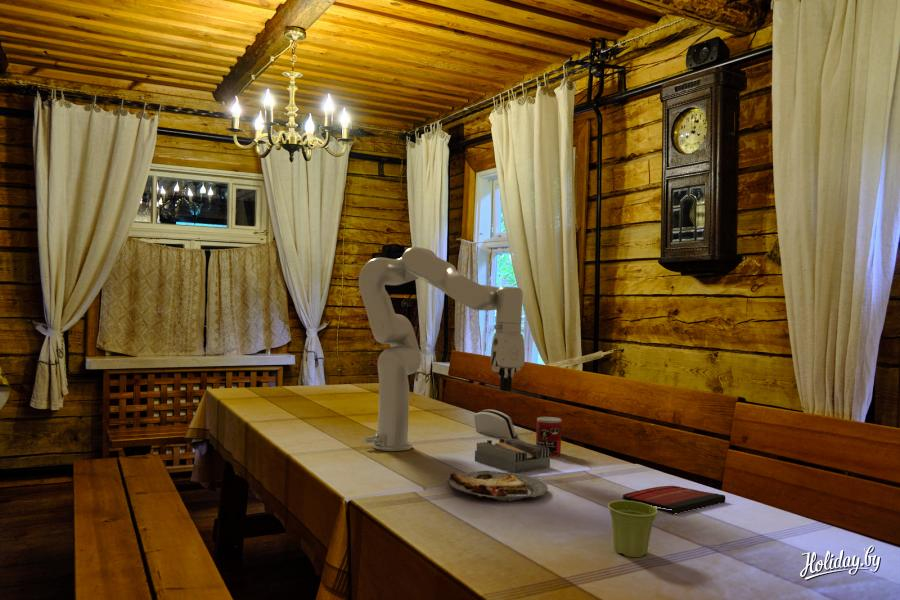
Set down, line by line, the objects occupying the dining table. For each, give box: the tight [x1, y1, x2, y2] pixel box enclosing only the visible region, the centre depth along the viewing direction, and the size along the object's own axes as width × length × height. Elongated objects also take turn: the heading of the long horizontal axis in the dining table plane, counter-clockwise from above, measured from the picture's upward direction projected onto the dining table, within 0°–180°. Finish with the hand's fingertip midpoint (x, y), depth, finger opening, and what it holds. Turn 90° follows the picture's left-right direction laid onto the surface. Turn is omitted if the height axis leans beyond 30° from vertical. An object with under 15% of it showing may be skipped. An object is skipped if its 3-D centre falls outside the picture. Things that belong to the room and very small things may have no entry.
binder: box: [622, 485, 726, 515], centre depth 174 cm, size 16×2×21 cm
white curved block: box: [473, 409, 520, 440], centre depth 249 cm, size 17×5×10 cm, turn 42°
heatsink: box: [474, 437, 551, 474], centre depth 205 cm, size 14×17×6 cm
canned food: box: [535, 416, 563, 457], centre depth 221 cm, size 8×8×11 cm
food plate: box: [447, 470, 548, 502], centre depth 177 cm, size 25×23×4 cm
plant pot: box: [607, 499, 659, 558], centre depth 136 cm, size 9×9×9 cm
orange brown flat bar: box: [494, 442, 531, 456], centre depth 205 cm, size 3×12×1 cm, turn 39°
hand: (505, 390), depth 208 cm, fingers closed
